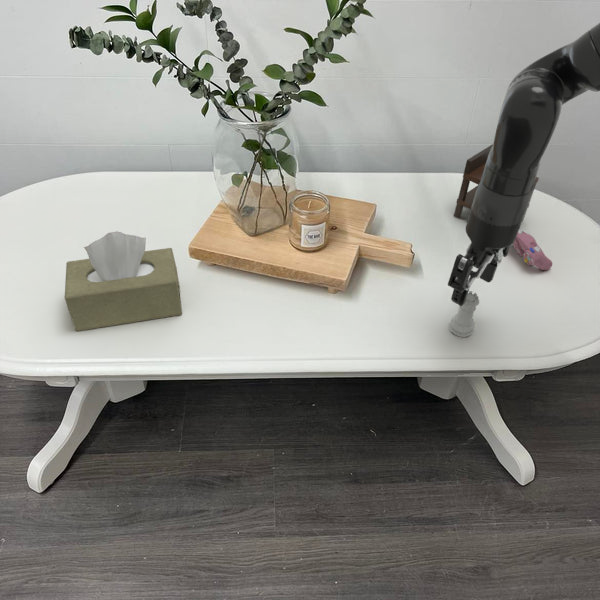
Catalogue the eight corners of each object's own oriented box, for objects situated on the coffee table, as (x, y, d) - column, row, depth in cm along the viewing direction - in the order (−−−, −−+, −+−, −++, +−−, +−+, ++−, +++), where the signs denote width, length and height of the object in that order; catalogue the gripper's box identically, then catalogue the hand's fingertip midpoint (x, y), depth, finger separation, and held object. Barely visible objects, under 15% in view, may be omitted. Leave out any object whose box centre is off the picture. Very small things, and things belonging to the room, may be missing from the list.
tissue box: (178, 280, 109) (167, 211, 99) (184, 315, 103) (173, 244, 92) (75, 295, 106) (52, 224, 95) (74, 332, 99) (49, 261, 88)
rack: (523, 221, 127) (543, 164, 118) (500, 239, 122) (519, 182, 112) (477, 199, 133) (492, 144, 124) (452, 216, 128) (466, 159, 118)
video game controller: (507, 250, 121) (502, 229, 116) (526, 239, 121) (522, 217, 116) (534, 280, 115) (530, 258, 110) (555, 268, 114) (551, 246, 109)
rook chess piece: (443, 323, 103) (452, 290, 97) (464, 317, 104) (474, 284, 98) (456, 340, 100) (466, 307, 94) (478, 334, 101) (489, 301, 95)
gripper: (494, 240, 79) (467, 323, 90) (544, 202, 87) (513, 282, 98) (449, 217, 83) (428, 299, 94) (500, 182, 90) (475, 261, 101)
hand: (471, 290), depth 96 cm, fingers open, 8 cm apart
